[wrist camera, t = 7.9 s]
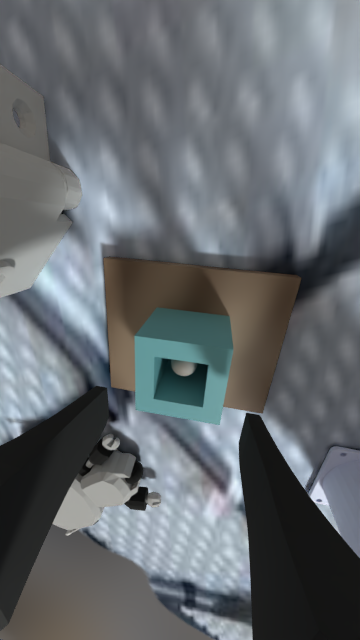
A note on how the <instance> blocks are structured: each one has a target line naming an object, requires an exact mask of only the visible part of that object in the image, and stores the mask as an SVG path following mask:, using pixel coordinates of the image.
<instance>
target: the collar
mask: <svg viewBox="0 0 360 640" xmlns="http://www.w3.org/2000/svg"><path fill="white" fill-rule="evenodd" d="M233 350H234V349H233V340H232V332H231V323H230V316H225V315H216V314H208V313H200V312H191V311H183V310H174V309H166V308H158V307H157V308H156V309H155V311H154V312H153V313H152V314H151V316H150V317H149V318H148V319H147V321H146V322H145V323H144V324H143V326H142V327H141V328H140V330H139V331H138V332H137V333H136V335H135V393H136V410H139V411H145V412H150V413H156V414H161V415H167V416H172V417H178V418H183V419H189V420H194V421H200V422H205V423H211V424H216V425H220V420H221V415H222V409H223V404H224V398H225V393H226V388H227V382H228V377H229V371H230V366H231V361H232V355H233ZM172 359H173V360H180V361H187V362H194V363H197V367H196V370H195V371H194V372H193V373H192V374H191V375H189V376H180V375H178V374H176V373H175V372H174V371H173V369H172V366H171V360H172Z"/></svg>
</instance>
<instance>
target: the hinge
mask: <svg viewBox="0 0 360 640" xmlns="http://www.w3.org/2000/svg"><path fill="white" fill-rule="evenodd" d="M12 109H14V110H15V111H16V113H17V115H18V117H19V120H20V127H19V128H18V126H17V124H16V122H15V120H14V117H13V110H12ZM81 197H82V190H81V185H80V181H79V179H78V178H77V176H76V175H75V174H74V173H73V172H72V171H71V170H70V169H69V168H65V167H62V166H60V165H57V164H55V163H53V162H50V155H49V145H48V135H47V125H46V115H45V106H44V97H43V96H42V95H41V94H39V93H38V92H37V91H35V90H34V89H33V88H31V87H30V86H29V85H27V84H26V83H25V82H23V81H22V80H21V79H19V78H18V77H17V76H15V75H14V74H13V73H11V72H10V71H9V70H7V69H6V68H5V67H3V66H2V65H0V298H1V297H4V296H7V295H10V294H14V293H17V292H20V291H23V290H26V289H29V288H31V286H32V285H33V283H34V282H35V280H36V279H37V277H38V275H39V274H40V272H41V271H42V269H43V268H44V266H45V265H46V263H47V261H48V260H49V258H50V257H51V255H52V254H53V252H54V251H55V249H56V248H57V246H58V244H59V243H60V241H61V240H62V238H63V237H64V235H65V234H66V232H67V230H68V229H69V227H70V226H71V224H72V223H73V222H72V221H71V220H70V219H69V218H68V217H67V216H66V215H65V214H61V212H62V210H66V211H67V210H71V209H74V208H76V207H77V206H78V204H79V202H80V200H81Z"/></svg>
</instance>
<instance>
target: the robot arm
mask: <svg viewBox="0 0 360 640" xmlns="http://www.w3.org/2000/svg"><path fill="white" fill-rule="evenodd" d="M108 418H109V409H108V394H107V388H105V387H99V386H96V387H94V388H93V389H91V390H90V391H88V392H87V393H85V394H84V395H83V396H81V397H80V398H78V399H77V400H76V401H74V402H73V403H71V404H70V405H68V406H67V407H65V408H64V409H63V410H61V411H60V412H58V413H57V414H55V415H54V416H52V417H50V418H49V419H47V420H46V421H44V422H42V423H41V424H39V425H38V426H36V427H34V428H33V429H31V430H29V431H27V432H26V433H24V434H22V435H20V436H18V437H17V438H15V439H13V440H11V441H9V442H7V443H5V444H3V445H1V446H0V631H1V630H2V629H3V628H4V627H5V626H7V625H8V623H9V621H10V619H11V617H12V614H13V612H14V609H15V607H16V605H17V602H18V600H19V597H20V595H21V593H22V590H23V588H24V585H25V583H26V581H27V579H28V576H29V574H30V572H31V569H32V567H33V565H34V562H35V560H36V558H37V556H38V554H39V551H40V549H41V547H42V545H43V542H44V540H45V538H46V536H47V534H48V532H49V530H50V527H51V525H52V523H53V521H54V519H55V517H56V515H57V513H58V511H59V509H60V507H61V505H62V503H63V501H64V498H65V496H66V494H67V492H68V490H69V489H70V487H71V485H72V483H73V481H74V480H75V478H76V476H77V475H78V473H79V471H80V470H81V468H82V466H83V465H84V463H85V461H86V460H87V458H88V456H89V455H90V453H91V451H92V450H93V448H94V446H95V445H96V443H97V441H98V439H99V438H100V436H101V434H102V432H103V430H104V427H105V425H106V423H107V421H108ZM239 464H240V473H241V480H242V488H243V496H244V503H245V511H246V518H247V527H248V539H249V557H250V578H251V601H252V631H253V640H360V451H359V450H354V449H349V448H343V447H338V446H334V447H332V448H331V449H330V450H329V452H328V454H327V456H326V458H325V461H324V463H323V465H322V467H321V469H320V471H319V473H318V475H317V477H316V479H315V481H314V483H313V485H312V487H311V489H310V491H309V493H308V494H307V492H306V491H305V489H304V488H303V487H302V485H301V484H300V482H299V481H298V479H297V478H296V476H295V475H294V473H293V472H292V470H291V469H290V467H289V466H288V464H287V462H286V461H285V459H284V457H283V456H282V454H281V453H280V451H279V449H278V448H277V446H276V444H275V442H274V441H273V439H272V437H271V435H270V433H269V432H268V430H267V428H266V426H265V424H264V422H263V420H262V418H261V417H260V415H256V414H250V413H246V417H245V420H244V424H243V428H242V432H241V436H240V440H239ZM315 503H319V504H324V505H328V506H330V509H331V511H332V514H333V516H334V519H335V521H336V524H337V526H338V529H339V531H340V534H341V536H342V537H341V536H340V534H339V533H338V532H337V531H336V530H335V529H334V527H333V526H332V525H331V524H330V522H329V521H328V520H327V519H326V517H325V516H324V515H323V514H322V512H321V511H320V510H319V508H318V507H317V506H316V504H315ZM0 640H2V639H0Z"/></svg>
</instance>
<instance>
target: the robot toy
mask: <svg viewBox="0 0 360 640" xmlns="http://www.w3.org/2000/svg"><path fill="white" fill-rule="evenodd" d="M113 437H114V435H112V434H110V433H109V434H108V435H106V436H104V437H102V439H101V440H100V441H99V442H98V443H97V444H96V445H95V446H94V448H93V450H92V451H91V453H90V455H89V457H88V458H87V460H86V461H85V463H84V465H83V466H82V468H81V470H80V471H79V473H78V475H77V476H76V478H75V480H74V481H73V483H72V485H71V487H70V489H69V490H68V492H67V494H66V496H65V498H64V501H63V503H62V505H61V507H60V509H59V511H58V513H57V515H56V517H55V519H54V521H53V523H52V524H54V525H56V526H58V527H61V528H64V529H67V530H68V531H67V533H66V534H65V535H67V536H68V535H70V534H71V533H72V532H74V531H76V530H78V529H80V528H83V527H88V526H92V525H94V524H95V523H97V522H98V520H99V519H100V518H101V515H102V512H103V509H104V507H109V506H118V505H123V504H125V505H126V506H128V507H129V508H130V509H134V510H144V511H145V509H146V505H147V504H148V505H150V506H151V507H159V505H160V504H161V496H160V494H159V493H156V492H151V493H148V488H147V487H139V484H140V480H141V477H142V475H143V467H142V464H141V463H140V462H138V461H135V460H136V457H135V456H133V455H132V454H129V453H121V452H120V451H119V450H117V449H116V448H118V446H119V444H120V440H119V438H117V437H116V439H115V440H113ZM115 449H116V450H115Z"/></svg>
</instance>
